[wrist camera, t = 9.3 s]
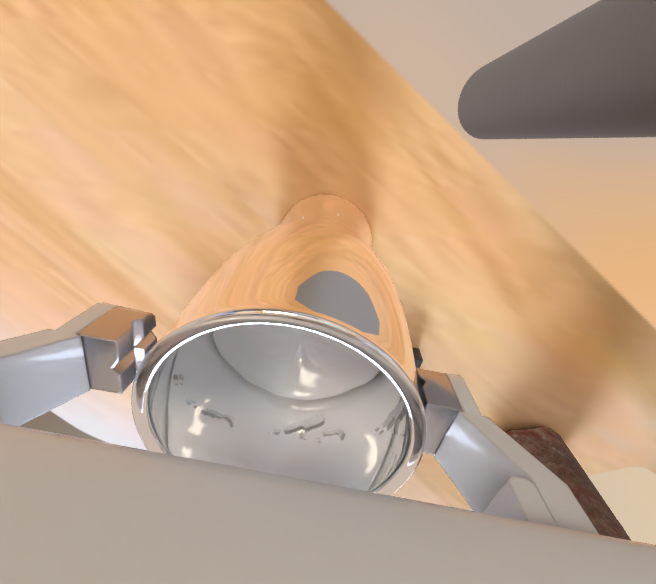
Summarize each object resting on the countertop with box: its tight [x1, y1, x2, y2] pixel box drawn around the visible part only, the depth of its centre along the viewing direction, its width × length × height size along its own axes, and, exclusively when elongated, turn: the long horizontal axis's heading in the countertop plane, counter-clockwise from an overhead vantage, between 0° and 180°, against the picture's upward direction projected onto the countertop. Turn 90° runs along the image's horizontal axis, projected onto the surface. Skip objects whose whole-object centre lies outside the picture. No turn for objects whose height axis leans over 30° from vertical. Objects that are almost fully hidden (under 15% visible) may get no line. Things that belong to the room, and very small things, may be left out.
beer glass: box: [131, 195, 427, 496], centre depth 14 cm, size 7×7×15 cm
